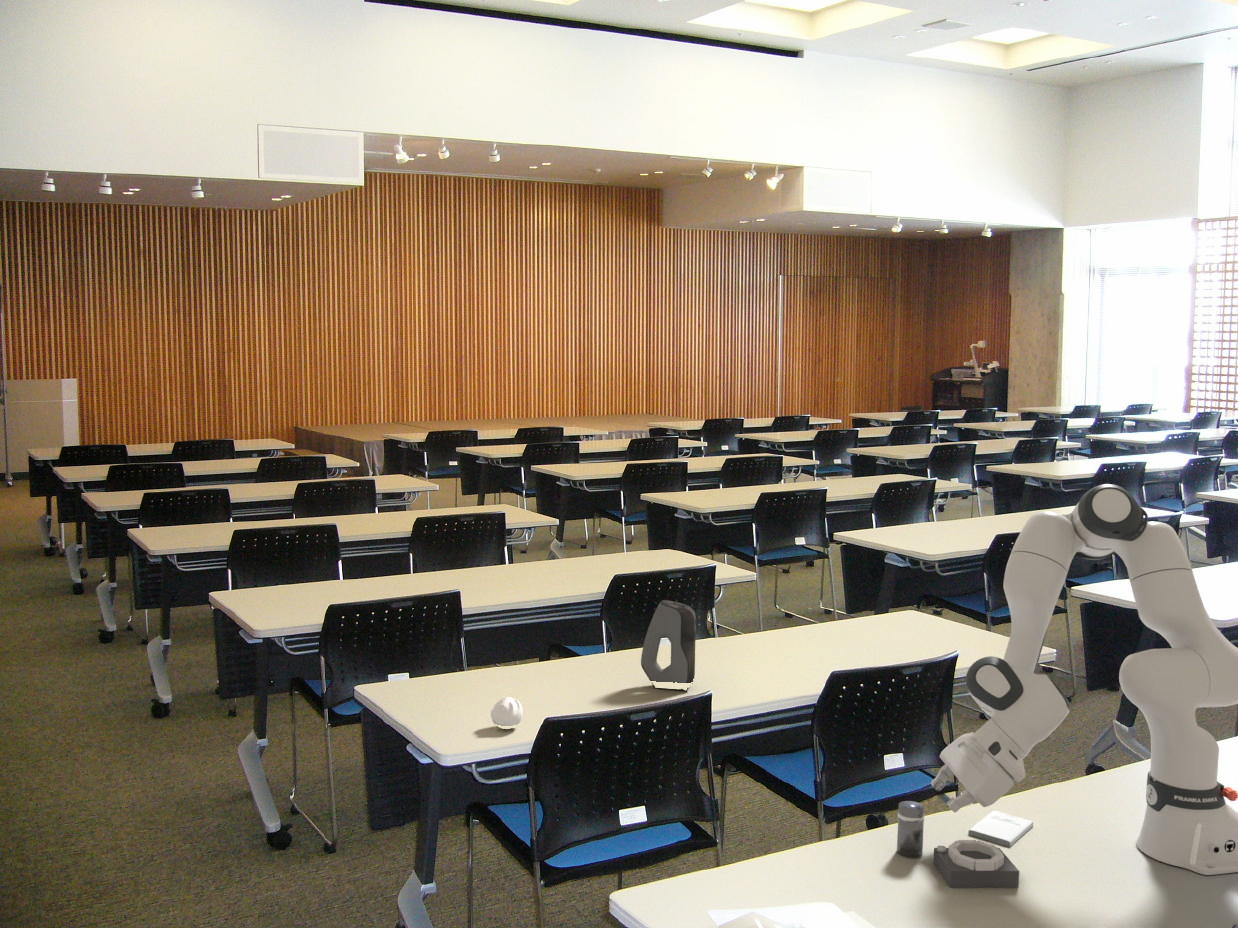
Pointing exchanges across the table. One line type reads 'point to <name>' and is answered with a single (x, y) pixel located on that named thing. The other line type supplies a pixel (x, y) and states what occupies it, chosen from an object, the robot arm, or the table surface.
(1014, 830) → the external hard drive
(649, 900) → the table surface
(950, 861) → the octagonal socket base
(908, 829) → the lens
